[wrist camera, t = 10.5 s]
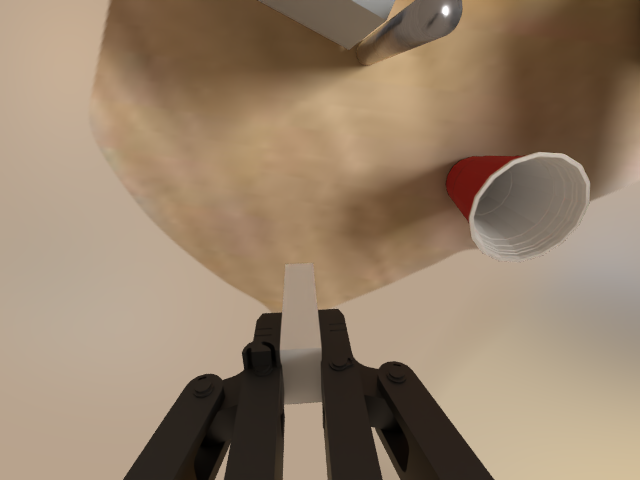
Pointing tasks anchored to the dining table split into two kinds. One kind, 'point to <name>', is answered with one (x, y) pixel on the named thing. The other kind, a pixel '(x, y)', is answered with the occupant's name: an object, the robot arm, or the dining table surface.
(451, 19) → the gate post
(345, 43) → the panel
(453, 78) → the dining table surface
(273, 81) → the dining table surface
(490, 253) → the plastic cup
